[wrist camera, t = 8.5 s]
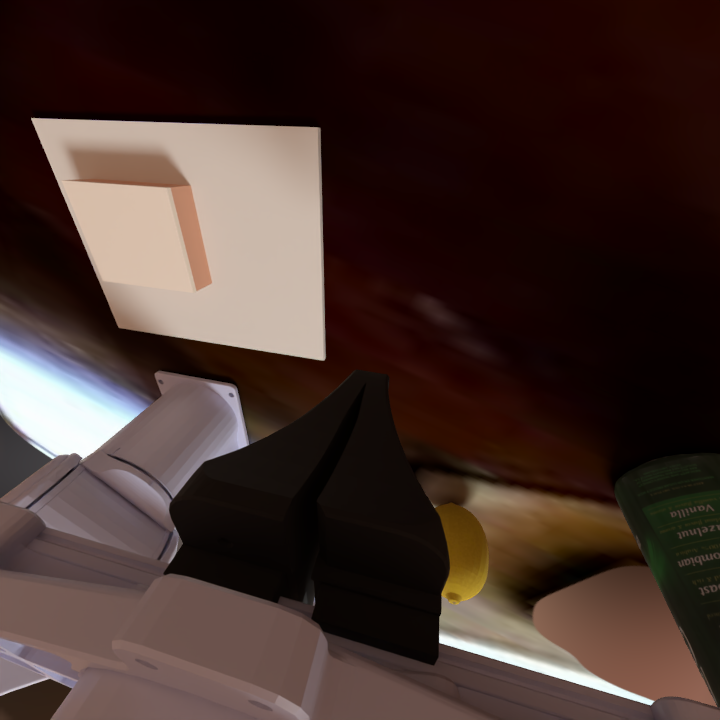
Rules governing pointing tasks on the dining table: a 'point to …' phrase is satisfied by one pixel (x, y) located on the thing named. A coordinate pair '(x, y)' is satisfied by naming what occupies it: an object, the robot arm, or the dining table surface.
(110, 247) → the tile
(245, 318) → the mat
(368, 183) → the dining table surface
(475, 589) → the lemon
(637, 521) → the coffee jar
